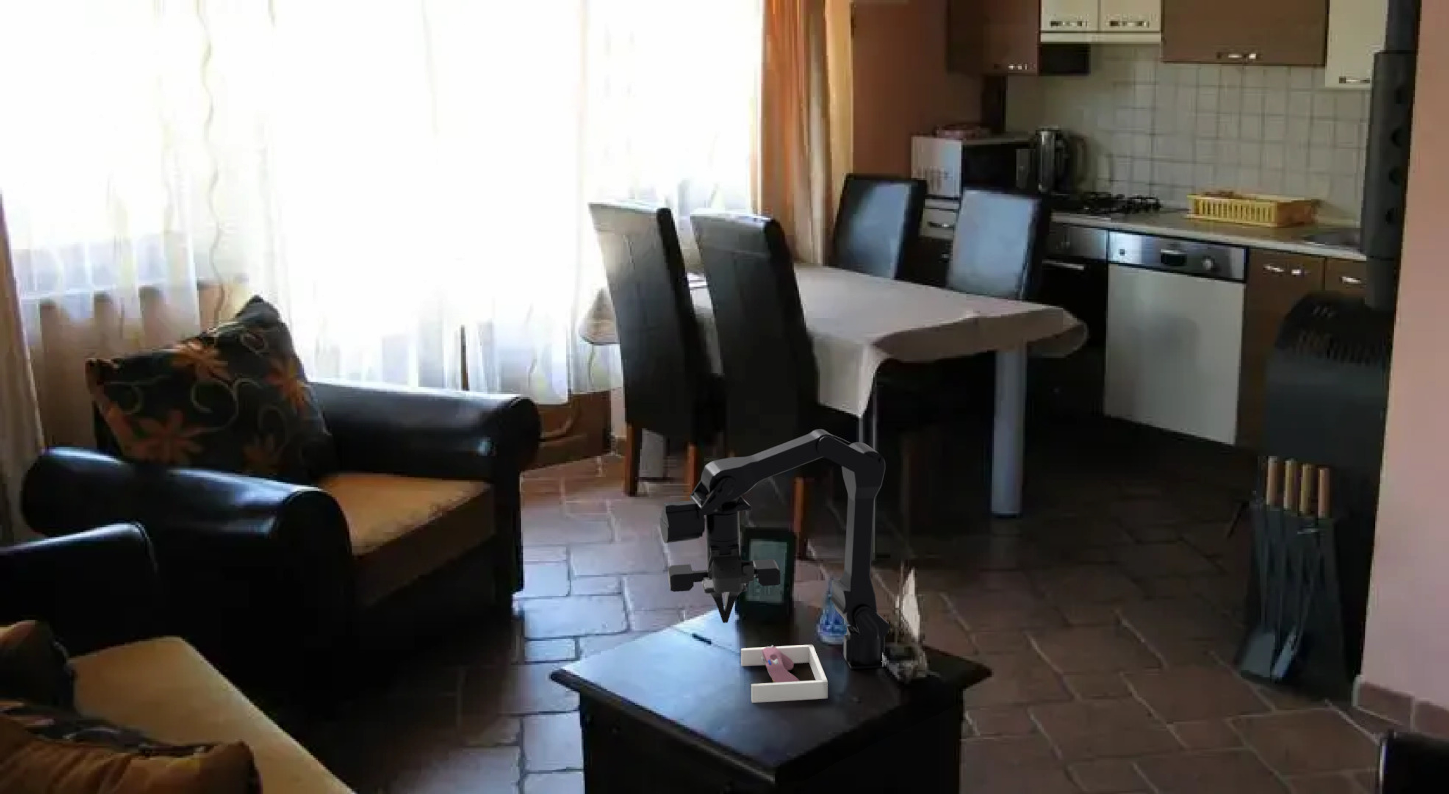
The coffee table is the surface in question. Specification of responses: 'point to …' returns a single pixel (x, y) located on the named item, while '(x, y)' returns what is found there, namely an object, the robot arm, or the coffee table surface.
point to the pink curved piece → (778, 665)
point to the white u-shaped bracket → (788, 689)
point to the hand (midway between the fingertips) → (724, 622)
